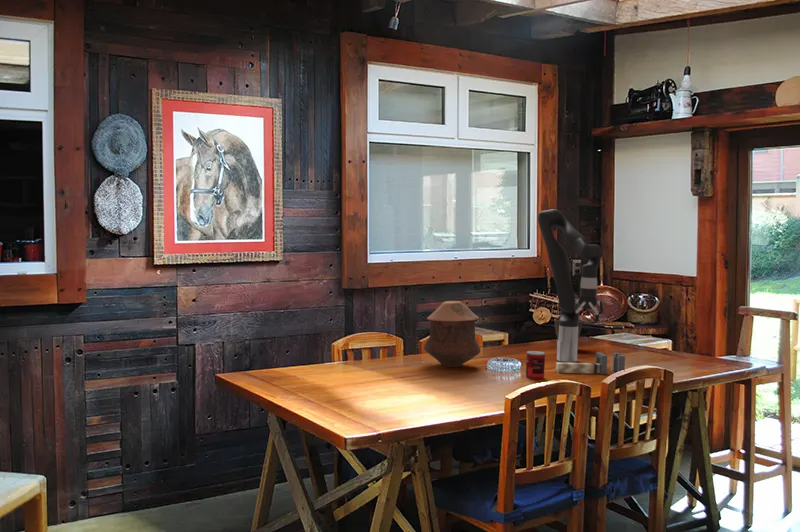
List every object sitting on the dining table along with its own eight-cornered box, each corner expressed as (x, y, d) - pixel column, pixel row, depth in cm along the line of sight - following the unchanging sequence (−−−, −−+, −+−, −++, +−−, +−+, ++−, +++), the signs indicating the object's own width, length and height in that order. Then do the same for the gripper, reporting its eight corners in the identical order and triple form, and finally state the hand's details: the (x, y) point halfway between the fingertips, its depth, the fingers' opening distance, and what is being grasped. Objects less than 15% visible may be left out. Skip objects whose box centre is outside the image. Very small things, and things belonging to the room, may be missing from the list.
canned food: (531, 375, 340) (532, 350, 340) (547, 377, 335) (548, 352, 335) (522, 377, 334) (523, 352, 334) (538, 380, 329) (539, 354, 329)
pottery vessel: (489, 365, 360) (491, 301, 359) (462, 373, 339) (464, 305, 338) (442, 359, 375) (443, 297, 373) (413, 366, 354) (414, 300, 352)
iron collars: (600, 374, 346) (601, 355, 346) (595, 370, 355) (595, 352, 355) (624, 375, 346) (625, 356, 346) (617, 371, 356) (618, 352, 355)
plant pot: (548, 347, 423) (549, 318, 422) (572, 346, 427) (573, 318, 426) (561, 351, 408) (563, 321, 407) (586, 351, 413) (588, 321, 412)
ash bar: (557, 372, 348) (558, 363, 348) (555, 370, 352) (556, 362, 352) (602, 373, 349) (602, 364, 348) (599, 371, 353) (599, 363, 353)
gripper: (571, 286, 358) (569, 321, 359) (602, 288, 352) (601, 324, 353) (574, 285, 365) (573, 320, 366) (605, 287, 359) (604, 322, 360)
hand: (587, 322), depth 359 cm, fingers open, 8 cm apart
